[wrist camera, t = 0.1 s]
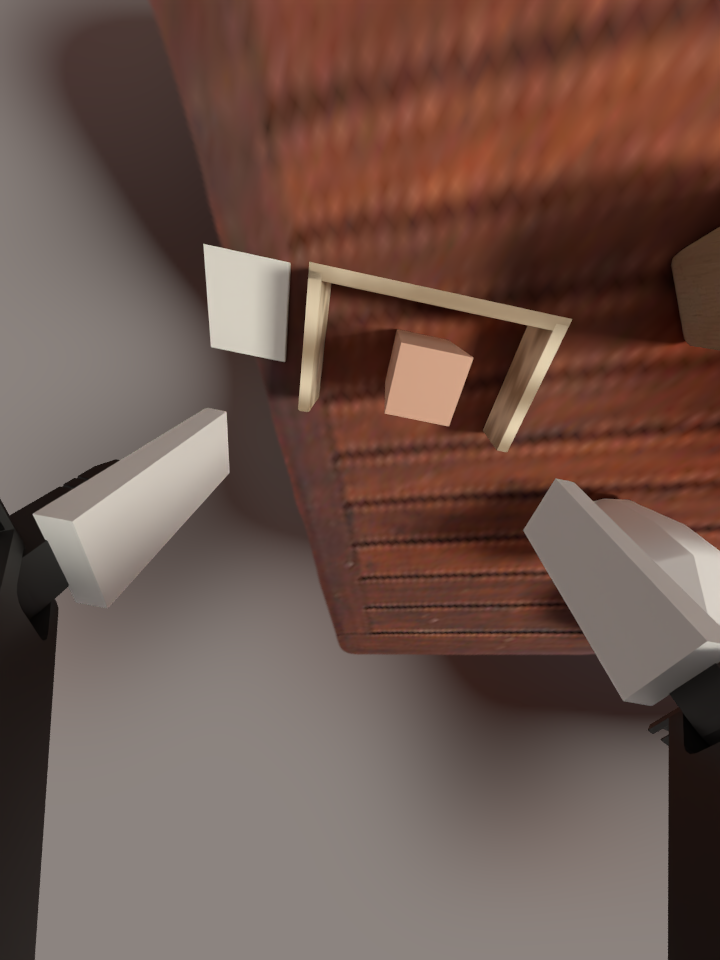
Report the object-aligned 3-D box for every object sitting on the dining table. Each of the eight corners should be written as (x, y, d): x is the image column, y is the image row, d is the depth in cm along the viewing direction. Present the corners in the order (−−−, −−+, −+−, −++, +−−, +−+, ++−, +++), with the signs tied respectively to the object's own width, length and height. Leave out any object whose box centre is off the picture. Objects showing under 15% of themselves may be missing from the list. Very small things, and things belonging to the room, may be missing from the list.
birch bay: (321, 267, 32) (309, 261, 27) (543, 315, 33) (572, 319, 28) (309, 395, 39) (298, 410, 34) (491, 432, 40) (507, 452, 35)
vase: (590, 468, 42) (805, 649, 20) (674, 501, 43) (955, 700, 22) (525, 539, 49) (634, 728, 27) (600, 565, 50) (756, 762, 29)
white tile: (206, 244, 32) (203, 243, 31) (290, 263, 32) (289, 262, 31) (213, 346, 37) (210, 346, 36) (286, 361, 37) (284, 362, 37)
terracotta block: (396, 328, 34) (401, 342, 24) (447, 339, 35) (473, 357, 24) (385, 381, 38) (384, 413, 27) (432, 391, 38) (449, 426, 28)
